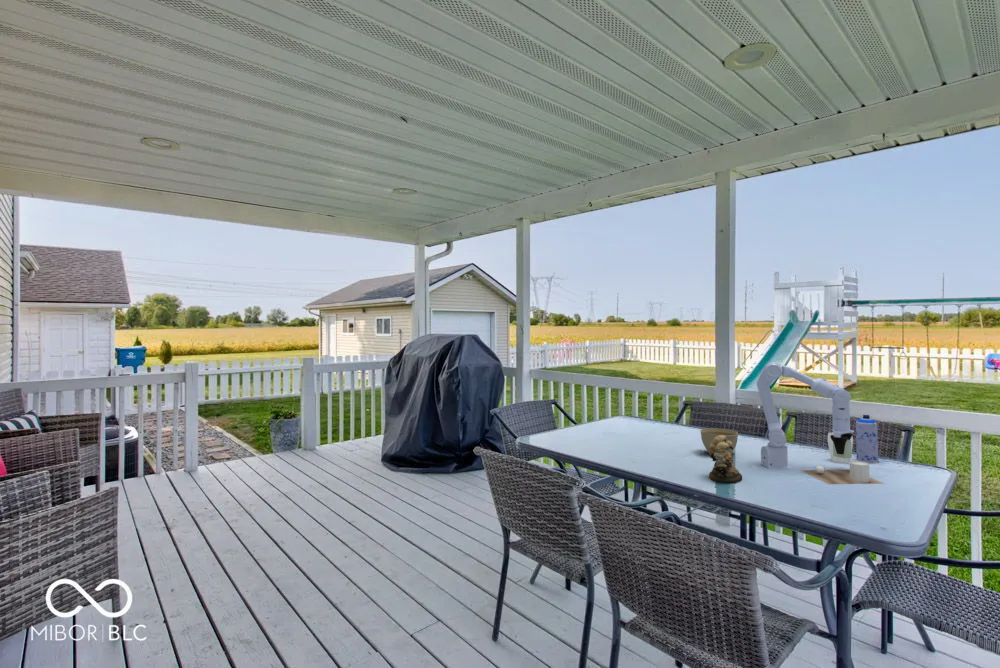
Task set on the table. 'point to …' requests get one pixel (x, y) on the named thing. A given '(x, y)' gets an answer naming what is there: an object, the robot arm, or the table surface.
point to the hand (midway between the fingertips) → (842, 452)
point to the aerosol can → (867, 440)
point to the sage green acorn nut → (846, 452)
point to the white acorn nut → (859, 471)
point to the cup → (833, 458)
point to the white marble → (820, 469)
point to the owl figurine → (723, 461)
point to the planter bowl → (711, 433)
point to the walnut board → (837, 477)
